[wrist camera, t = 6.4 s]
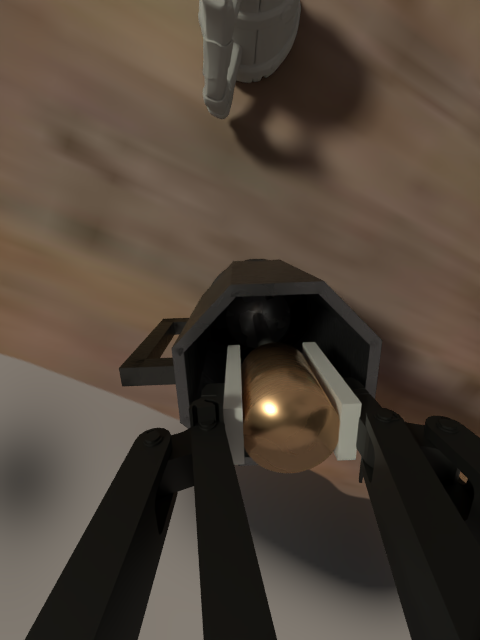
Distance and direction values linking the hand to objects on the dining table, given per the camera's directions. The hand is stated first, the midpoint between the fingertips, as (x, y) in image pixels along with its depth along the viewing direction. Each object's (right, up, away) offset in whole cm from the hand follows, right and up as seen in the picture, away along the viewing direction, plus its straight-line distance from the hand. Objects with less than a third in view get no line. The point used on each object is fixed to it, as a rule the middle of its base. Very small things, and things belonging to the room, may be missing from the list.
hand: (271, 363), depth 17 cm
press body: (-2, +4, +12) cm, 13 cm away
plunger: (0, +3, +11) cm, 11 cm away
